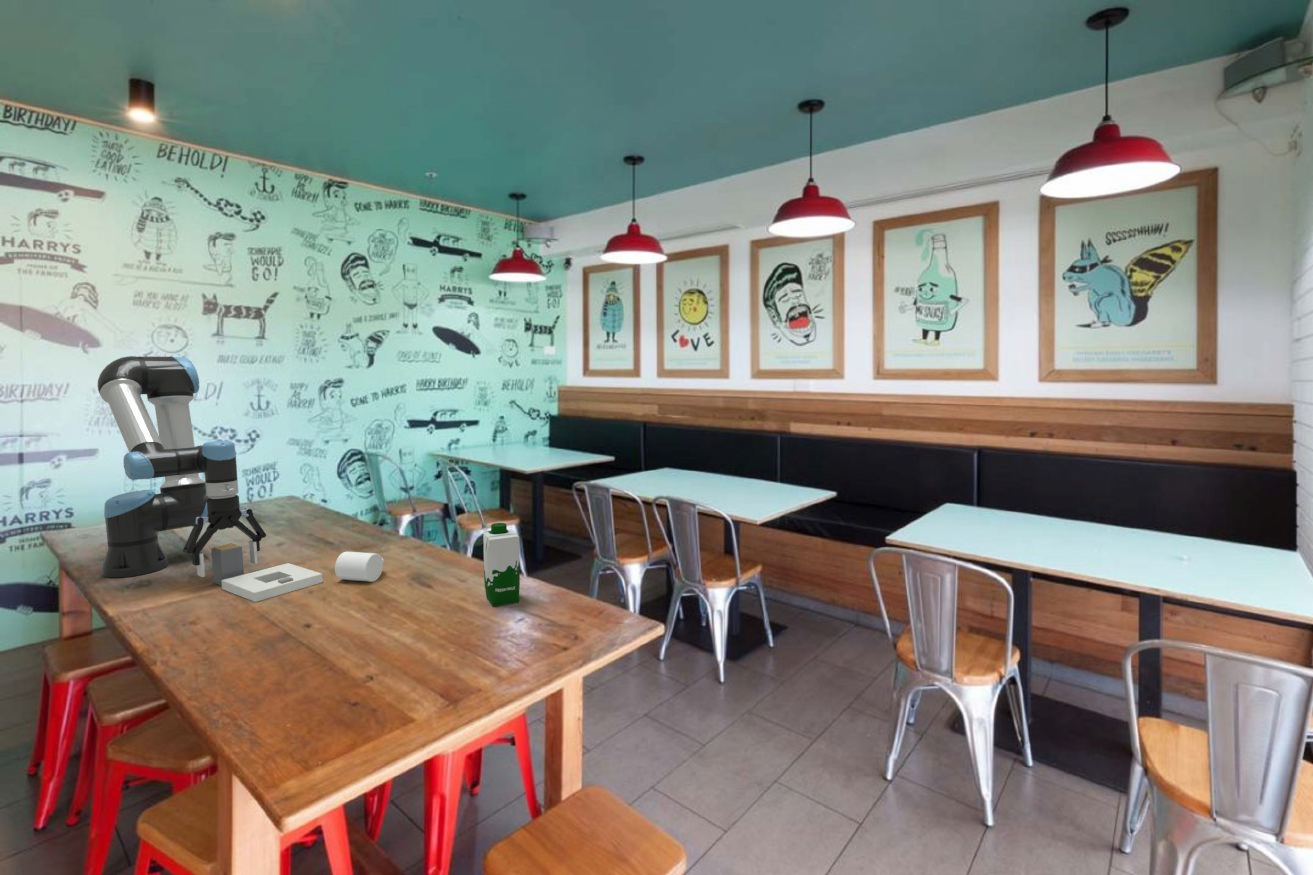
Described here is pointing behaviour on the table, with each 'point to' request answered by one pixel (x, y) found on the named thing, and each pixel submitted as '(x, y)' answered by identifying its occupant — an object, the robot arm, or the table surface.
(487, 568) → the milk carton
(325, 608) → the table surface
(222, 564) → the plug
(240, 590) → the socket plate
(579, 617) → the table surface
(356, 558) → the mug
